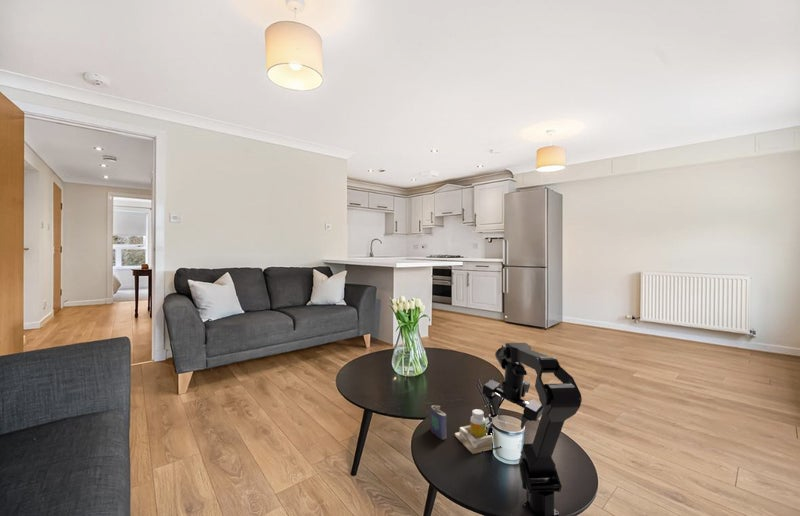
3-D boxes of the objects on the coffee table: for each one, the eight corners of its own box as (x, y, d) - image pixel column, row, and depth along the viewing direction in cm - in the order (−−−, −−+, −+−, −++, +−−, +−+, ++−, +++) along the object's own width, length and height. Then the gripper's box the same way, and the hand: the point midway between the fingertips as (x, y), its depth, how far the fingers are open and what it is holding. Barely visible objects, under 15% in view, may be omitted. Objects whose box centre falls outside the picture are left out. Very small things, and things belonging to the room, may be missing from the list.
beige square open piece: (502, 446, 115) (502, 436, 115) (472, 454, 111) (472, 443, 111) (482, 429, 126) (482, 420, 126) (454, 435, 122) (454, 426, 122)
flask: (447, 439, 120) (447, 410, 120) (441, 441, 119) (440, 411, 119) (434, 427, 128) (434, 399, 128) (428, 428, 127) (428, 401, 127)
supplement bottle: (482, 444, 115) (482, 416, 115) (468, 439, 118) (467, 412, 118) (487, 437, 119) (487, 410, 119) (473, 432, 122) (473, 406, 122)
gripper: (553, 381, 103) (547, 423, 107) (499, 358, 116) (495, 395, 120) (538, 398, 96) (532, 442, 100) (482, 370, 109) (479, 410, 113)
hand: (508, 420), depth 108 cm, fingers open, 9 cm apart
